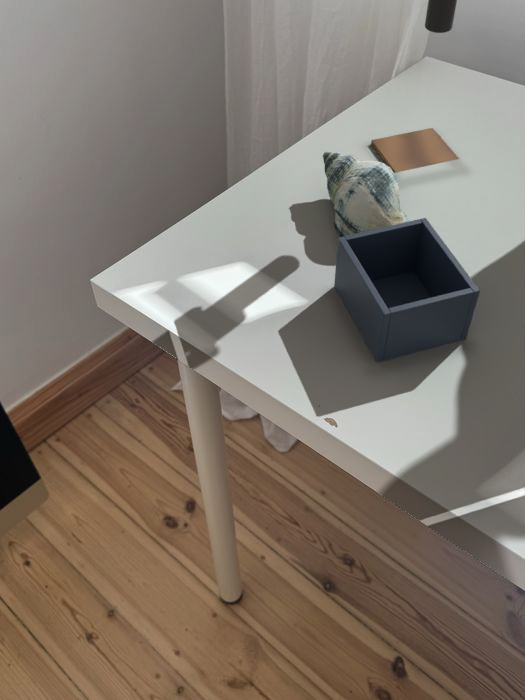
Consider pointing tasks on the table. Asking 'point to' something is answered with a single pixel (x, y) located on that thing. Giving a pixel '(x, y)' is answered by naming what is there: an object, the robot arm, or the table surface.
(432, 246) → the bin
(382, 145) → the coaster
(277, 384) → the table surface
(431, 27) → the marker
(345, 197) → the seashell
